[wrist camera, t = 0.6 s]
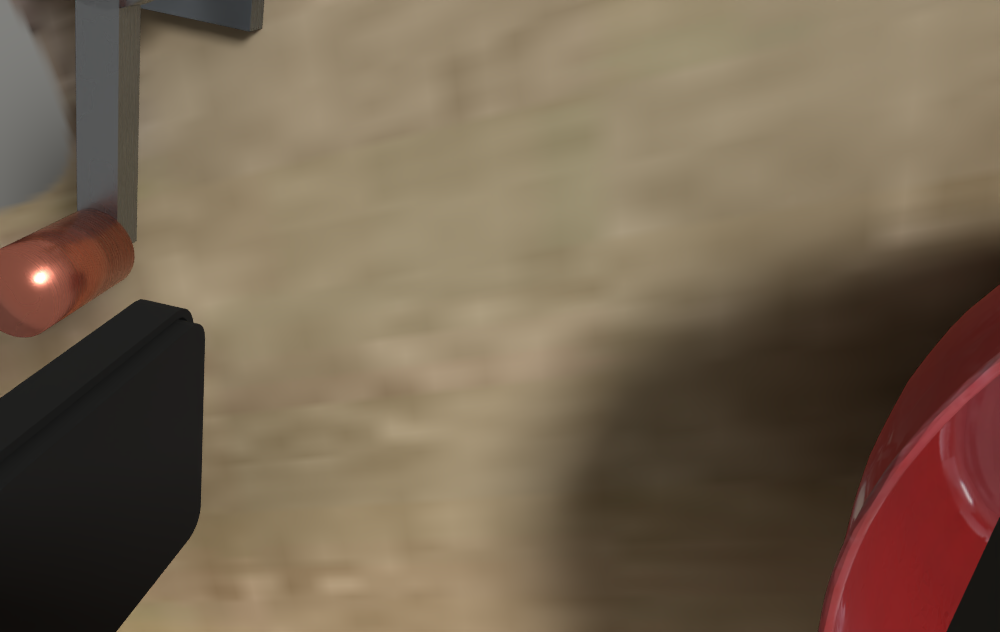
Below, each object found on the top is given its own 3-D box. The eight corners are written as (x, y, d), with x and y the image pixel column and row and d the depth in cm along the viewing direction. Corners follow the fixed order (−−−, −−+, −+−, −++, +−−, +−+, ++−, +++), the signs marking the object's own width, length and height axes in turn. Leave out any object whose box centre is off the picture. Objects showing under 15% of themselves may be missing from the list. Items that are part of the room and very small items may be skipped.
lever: (61, -144, 32) (-81, -158, 26) (184, -119, 31) (68, -128, 25) (67, 257, 38) (-47, 321, 32) (170, 283, 37) (74, 351, 31)
